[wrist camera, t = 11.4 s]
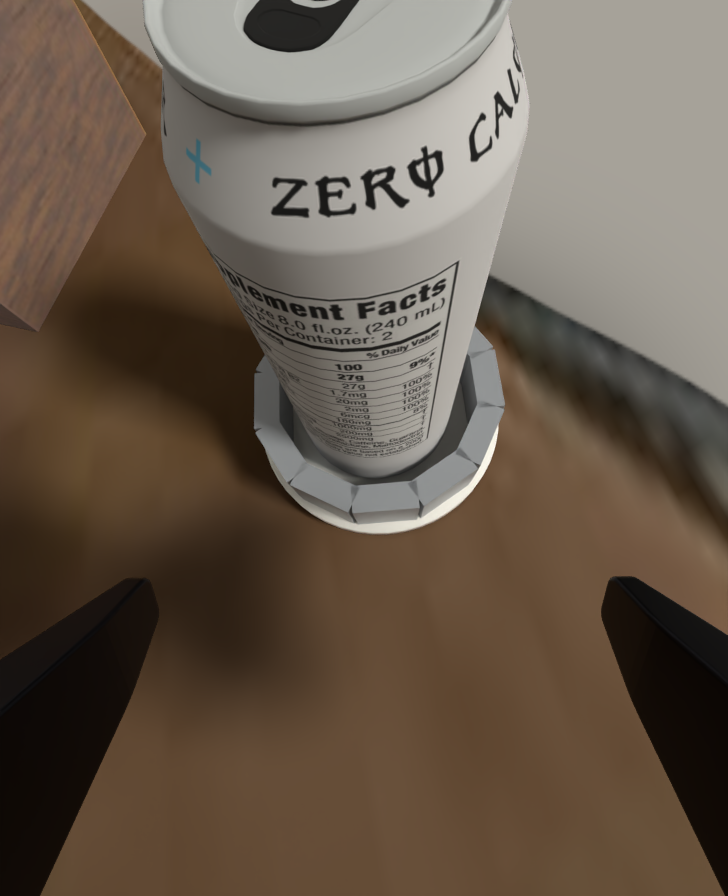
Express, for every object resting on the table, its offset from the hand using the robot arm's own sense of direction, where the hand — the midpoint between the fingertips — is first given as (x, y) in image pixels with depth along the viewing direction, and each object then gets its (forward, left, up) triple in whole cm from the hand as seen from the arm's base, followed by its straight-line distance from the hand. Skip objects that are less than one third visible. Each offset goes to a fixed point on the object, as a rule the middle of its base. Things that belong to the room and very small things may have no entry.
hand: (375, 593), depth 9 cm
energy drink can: (+4, +6, -9) cm, 12 cm away
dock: (+4, +7, -10) cm, 13 cm away
